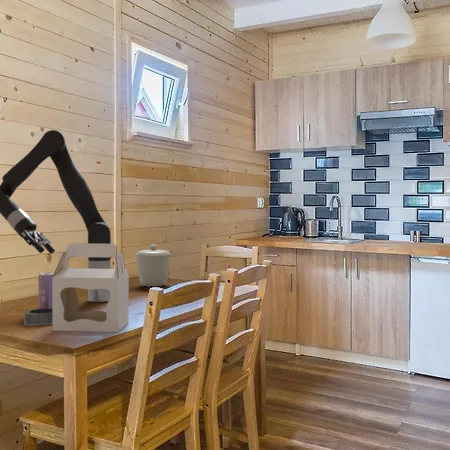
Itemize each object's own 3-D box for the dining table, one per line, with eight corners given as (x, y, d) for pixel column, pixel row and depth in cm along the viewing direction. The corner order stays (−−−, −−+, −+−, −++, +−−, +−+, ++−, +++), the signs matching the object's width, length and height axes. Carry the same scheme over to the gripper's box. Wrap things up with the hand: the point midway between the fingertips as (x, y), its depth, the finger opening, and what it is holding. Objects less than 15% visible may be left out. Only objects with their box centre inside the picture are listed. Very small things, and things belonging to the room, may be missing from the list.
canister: (128, 285, 265) (128, 244, 264) (157, 282, 277) (157, 242, 276) (148, 290, 251) (148, 246, 250) (178, 286, 264) (178, 244, 263)
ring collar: (59, 316, 190) (59, 306, 190) (61, 323, 179) (61, 313, 179) (24, 319, 186) (24, 308, 186) (24, 326, 175) (24, 315, 175)
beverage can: (58, 312, 198) (58, 272, 198) (48, 315, 193) (48, 274, 192) (45, 311, 200) (45, 272, 200) (35, 314, 195) (34, 273, 194)
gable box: (129, 323, 181) (129, 242, 180) (119, 332, 168) (119, 245, 167) (66, 321, 182) (66, 241, 181) (51, 331, 169) (51, 244, 168)
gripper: (18, 214, 200) (45, 244, 198) (37, 218, 215) (62, 245, 212) (5, 228, 201) (32, 258, 198) (24, 231, 215) (50, 259, 212)
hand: (48, 252), depth 205 cm, fingers open, 8 cm apart
